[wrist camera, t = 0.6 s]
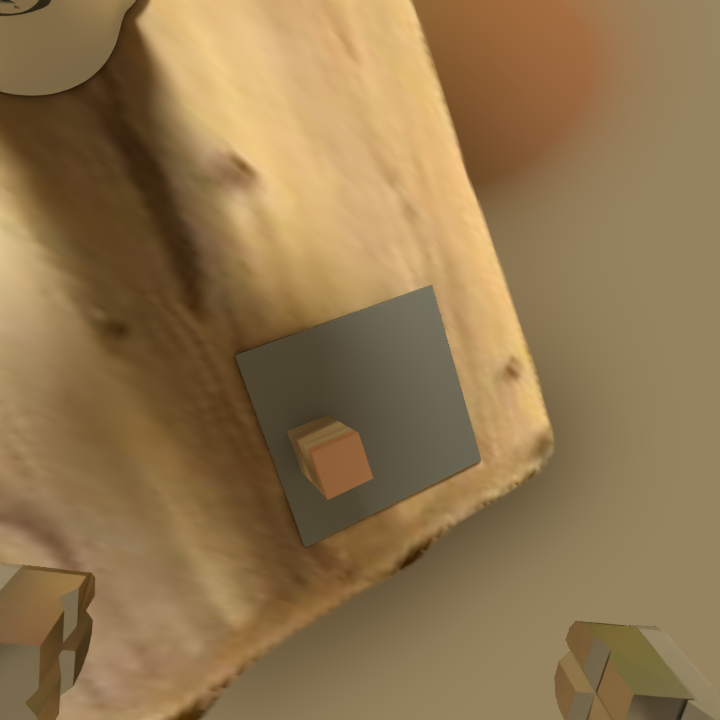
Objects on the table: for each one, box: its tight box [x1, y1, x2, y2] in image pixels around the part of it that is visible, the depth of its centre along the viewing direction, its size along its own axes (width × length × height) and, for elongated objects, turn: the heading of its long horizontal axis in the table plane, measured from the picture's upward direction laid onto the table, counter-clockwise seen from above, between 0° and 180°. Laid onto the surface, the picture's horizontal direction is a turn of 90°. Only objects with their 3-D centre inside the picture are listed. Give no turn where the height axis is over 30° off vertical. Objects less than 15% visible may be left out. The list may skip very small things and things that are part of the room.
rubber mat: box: [234, 285, 481, 548], centre depth 51 cm, size 19×20×1 cm
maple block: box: [287, 415, 373, 500], centre depth 45 cm, size 4×4×8 cm
